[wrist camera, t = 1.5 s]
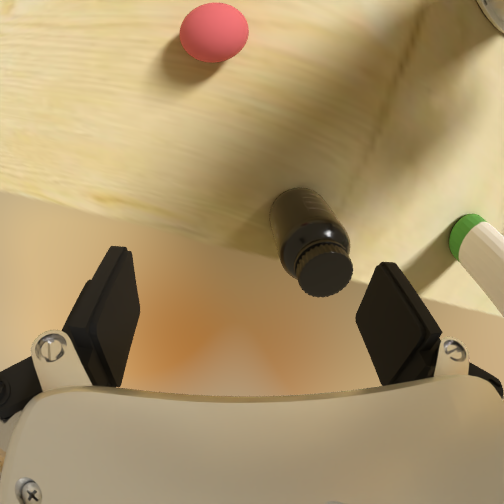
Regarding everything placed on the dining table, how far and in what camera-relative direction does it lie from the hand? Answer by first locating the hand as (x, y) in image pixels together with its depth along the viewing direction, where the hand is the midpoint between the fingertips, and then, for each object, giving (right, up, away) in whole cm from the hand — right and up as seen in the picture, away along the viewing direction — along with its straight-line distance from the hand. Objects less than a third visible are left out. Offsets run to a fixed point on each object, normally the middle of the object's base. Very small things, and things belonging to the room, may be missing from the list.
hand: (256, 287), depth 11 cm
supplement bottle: (+5, +6, +23) cm, 24 cm away
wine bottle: (+33, +4, +26) cm, 42 cm away
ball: (-3, +20, +9) cm, 23 cm away
